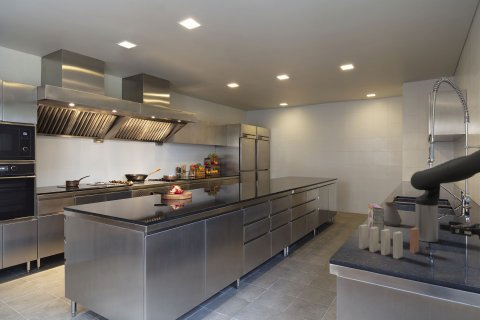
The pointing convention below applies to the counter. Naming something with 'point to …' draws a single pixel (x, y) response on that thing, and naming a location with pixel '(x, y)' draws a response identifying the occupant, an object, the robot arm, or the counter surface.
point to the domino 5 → (414, 240)
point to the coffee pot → (391, 214)
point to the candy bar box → (375, 218)
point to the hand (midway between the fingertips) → (444, 225)
